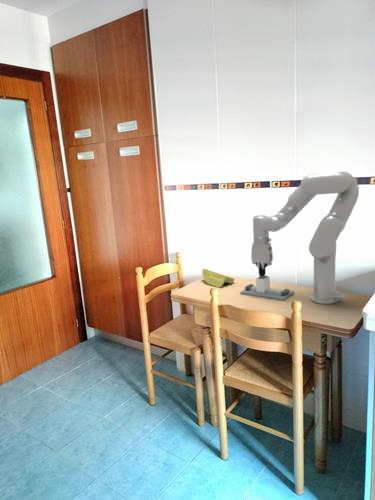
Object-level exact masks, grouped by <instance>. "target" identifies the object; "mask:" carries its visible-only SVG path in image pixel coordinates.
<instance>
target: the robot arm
mask: <svg viewBox="0 0 375 500" xmlns="http://www.w3.org/2000/svg"><path fill="white" fill-rule="evenodd" d="M359 189H360V187H359V184H358V182H357V180H356V178H355V177H354V176H353V175H352V174H351V173H349V172H347V171H339V172H330V173H322V174H318V173H317V174H316V173H311V174H308V175H305V176H304V177H303V178H302V180H301V182H300V184H299V186H298V187H297V188H295V190H294V191H293V192H292V193H291V194H290V195H289V196H288V198H287V202H286V204H285V205H283V207H282V208H281V209H280V210H278V212H277V213H276V214H274V215H271V216H267V215H264V214H263V215H262V214H261V215H260V214H259V215H254V217H253V218H252V227H253V229H252V231H253V232H252V233H253V242H252V245H251V253H250V254H251V256H250V257H251V264H253V265H255V266H256V267H257V269H258V275H259V276H258V277H260V276H264V275H265V276H266V268H267V267H268V266H273V262H274V261H273V259H274V256H273V254H274V253H273V248H272V243H271V241H272V238H270V235H269V234H270V233H269V232H278V231H280V230H282V229H284V228H285V227H286V226H287V225H288V224H289V223H290V222H292V221H293V219H295V218H296V216H297V215H298V214H299V213H300V212H301V211H303V209H304V208H305V207H307V205H308V204H309V203H310V202H311V201H312V200H313V199H314V198H315V197H316V196H317V195H327V194H329V195H330V194H337V196H336V198H335V199H334V201H333V204H332V206H331V208H330V210H329V211H328V213H327V215H325V216H324V217H322V219H321V220H320V222H319V224H318V226H317V228H316V229H315V231H314V233H313V236H312V238H311V240H310V242H309V245H308V251H309V253H310V255H311V256H312V257H313V294H311V296H310V300H311V302H314V303H315V304H322V305H331V304H336V303H338V302H339V300H345V295H344V294H343V293H339V292H338V289H336V257H337V240H338V238H339V236H340V234H341V233H343V231H344V229H345V228H346V225H347V222H348V221H349V219H350V216H351V214H352V213H353V210H354V208H355V206H356V203H357V202H358V199H359V195H360V194H359V193H360V190H359Z"/></svg>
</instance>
